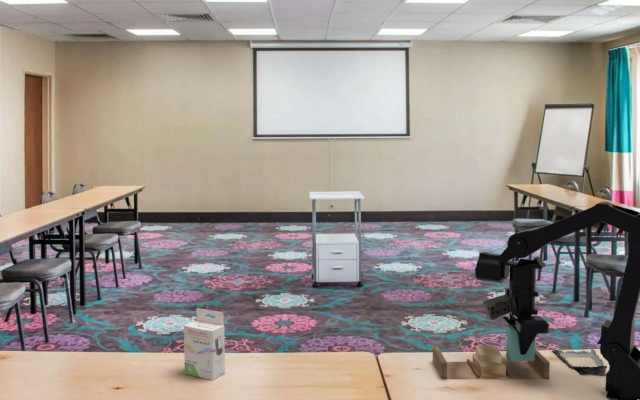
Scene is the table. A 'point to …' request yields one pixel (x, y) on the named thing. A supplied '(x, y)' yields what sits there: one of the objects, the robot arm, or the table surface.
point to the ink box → (205, 345)
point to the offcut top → (488, 355)
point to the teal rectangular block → (517, 347)
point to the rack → (513, 371)
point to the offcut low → (489, 369)
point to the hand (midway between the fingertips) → (520, 352)
